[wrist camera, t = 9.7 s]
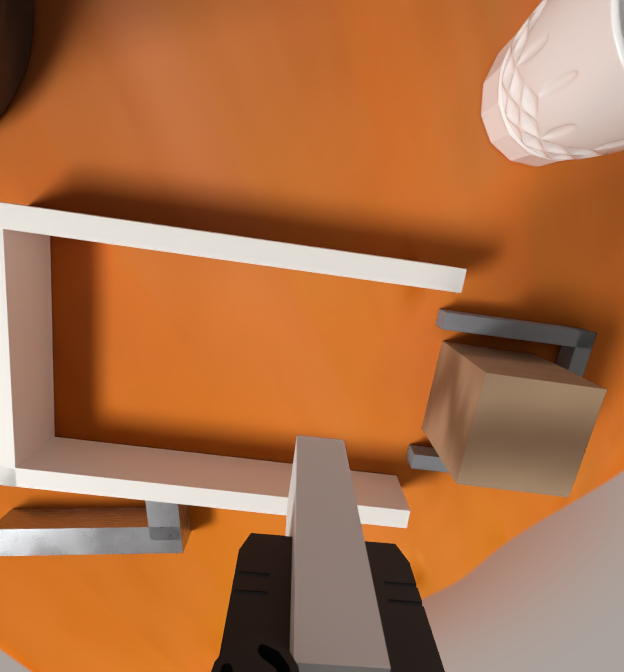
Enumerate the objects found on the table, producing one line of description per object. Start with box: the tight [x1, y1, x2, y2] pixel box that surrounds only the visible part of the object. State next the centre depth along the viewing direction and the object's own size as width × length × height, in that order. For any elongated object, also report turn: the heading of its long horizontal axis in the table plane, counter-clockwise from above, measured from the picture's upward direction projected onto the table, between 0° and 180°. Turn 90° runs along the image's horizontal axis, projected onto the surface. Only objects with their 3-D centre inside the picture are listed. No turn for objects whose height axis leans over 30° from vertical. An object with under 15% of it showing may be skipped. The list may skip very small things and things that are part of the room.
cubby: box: [0, 202, 467, 528], centre depth 22 cm, size 15×24×4 cm, turn 82°
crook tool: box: [0, 500, 191, 556], centre depth 25 cm, size 5×12×2 cm, turn 90°
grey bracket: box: [406, 309, 597, 473], centre depth 24 cm, size 10×9×1 cm
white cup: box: [481, 0, 624, 167], centre depth 16 cm, size 8×8×10 cm
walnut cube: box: [422, 341, 607, 497], centre depth 22 cm, size 6×6×6 cm
